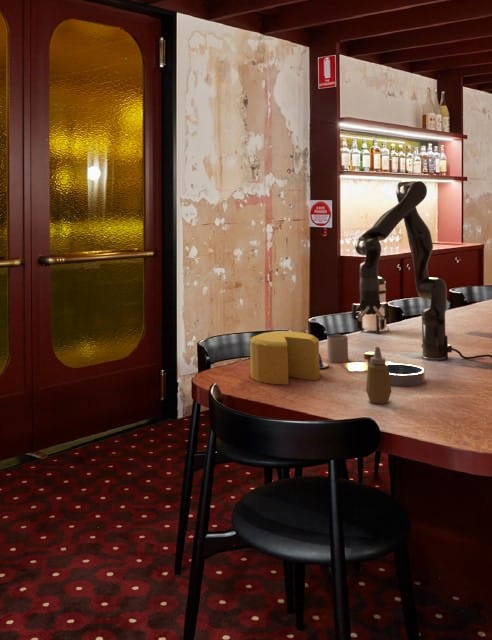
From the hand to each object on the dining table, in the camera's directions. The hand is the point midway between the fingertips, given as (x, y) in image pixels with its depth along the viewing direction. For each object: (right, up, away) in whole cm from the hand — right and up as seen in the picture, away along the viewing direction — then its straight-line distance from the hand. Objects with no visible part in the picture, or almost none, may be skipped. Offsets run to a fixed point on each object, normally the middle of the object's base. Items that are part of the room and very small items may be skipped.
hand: (370, 329), depth 283 cm
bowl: (+5, -15, -21) cm, 27 cm away
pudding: (-22, -16, +6) cm, 28 cm away
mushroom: (0, -14, 0) cm, 14 cm away
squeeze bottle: (-9, -15, -46) cm, 50 cm away
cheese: (-35, -16, -8) cm, 39 cm away
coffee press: (+22, -16, +80) cm, 85 cm away
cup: (-10, -16, +16) cm, 24 cm away
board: (0, -15, 0) cm, 15 cm away
